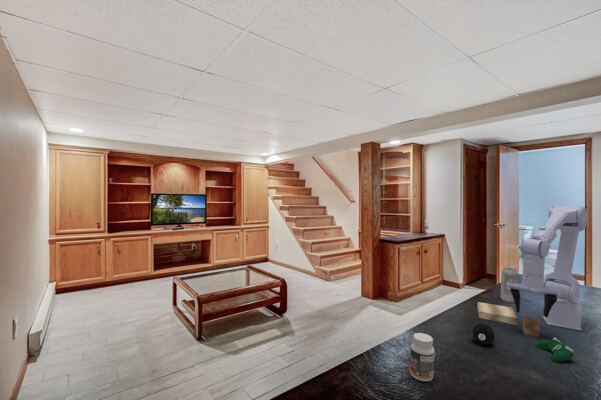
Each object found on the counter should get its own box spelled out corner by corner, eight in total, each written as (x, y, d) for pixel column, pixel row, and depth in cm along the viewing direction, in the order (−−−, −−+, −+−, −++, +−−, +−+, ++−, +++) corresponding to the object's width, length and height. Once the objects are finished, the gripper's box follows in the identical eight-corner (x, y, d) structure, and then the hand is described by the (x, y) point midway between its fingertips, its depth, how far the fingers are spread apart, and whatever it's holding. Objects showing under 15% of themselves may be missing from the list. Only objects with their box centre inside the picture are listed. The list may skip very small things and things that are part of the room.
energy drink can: (515, 300, 136) (517, 267, 136) (517, 304, 131) (518, 270, 130) (500, 297, 139) (501, 265, 139) (500, 301, 134) (502, 268, 133)
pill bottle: (405, 369, 78) (407, 331, 78) (426, 368, 79) (427, 331, 79) (415, 382, 73) (417, 342, 73) (438, 382, 73) (439, 342, 73)
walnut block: (536, 332, 103) (537, 318, 103) (539, 337, 99) (540, 322, 99) (522, 329, 105) (523, 315, 105) (524, 334, 101) (525, 319, 101)
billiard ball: (470, 343, 94) (471, 324, 94) (474, 336, 98) (474, 318, 98) (492, 350, 90) (493, 330, 90) (495, 342, 94) (496, 324, 94)
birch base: (511, 315, 119) (512, 307, 119) (517, 326, 109) (517, 318, 109) (477, 308, 125) (477, 301, 125) (478, 319, 114) (479, 311, 114)
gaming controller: (562, 370, 84) (580, 357, 83) (551, 359, 84) (569, 346, 83) (542, 353, 93) (559, 341, 92) (533, 343, 93) (549, 331, 92)
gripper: (509, 273, 102) (507, 312, 102) (564, 280, 95) (562, 322, 95) (506, 269, 108) (504, 306, 108) (557, 275, 101) (556, 315, 101)
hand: (531, 313), depth 102 cm, fingers open, 7 cm apart
